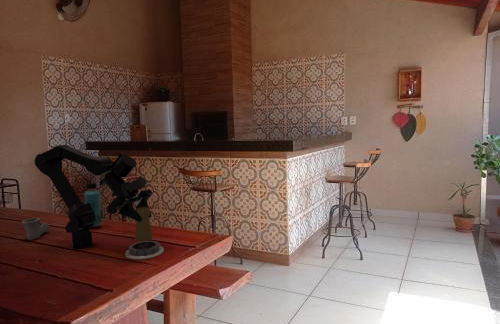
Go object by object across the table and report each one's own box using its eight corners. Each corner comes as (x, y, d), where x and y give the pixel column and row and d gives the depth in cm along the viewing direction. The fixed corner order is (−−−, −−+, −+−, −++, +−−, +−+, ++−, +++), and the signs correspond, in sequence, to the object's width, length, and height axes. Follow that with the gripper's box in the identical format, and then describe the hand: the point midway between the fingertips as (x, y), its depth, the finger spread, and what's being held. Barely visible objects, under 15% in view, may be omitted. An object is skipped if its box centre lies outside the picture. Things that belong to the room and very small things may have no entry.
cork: (131, 238, 132) (129, 207, 131) (147, 234, 136) (145, 204, 135) (139, 242, 128) (137, 210, 126) (155, 238, 132) (154, 207, 130)
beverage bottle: (86, 227, 168) (82, 182, 166) (102, 225, 171) (98, 181, 168) (86, 230, 162) (82, 185, 160) (103, 228, 165) (99, 183, 162)
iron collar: (131, 262, 123) (130, 254, 123) (121, 251, 134) (120, 244, 134) (169, 253, 130) (168, 246, 130) (156, 244, 141) (156, 237, 141)
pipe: (52, 232, 162) (51, 214, 161) (33, 241, 149) (31, 222, 148) (39, 232, 162) (37, 214, 161) (19, 242, 150) (17, 222, 149)
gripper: (111, 174, 122) (141, 210, 119) (147, 167, 139) (174, 198, 136) (94, 197, 126) (122, 232, 123) (131, 187, 143) (157, 217, 140)
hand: (145, 218), depth 130 cm, fingers closed on cork, 5 cm apart
